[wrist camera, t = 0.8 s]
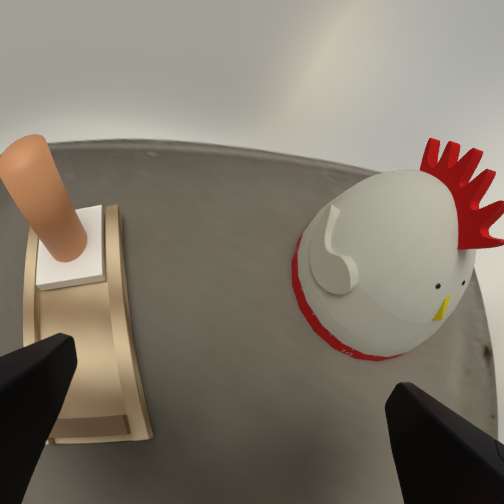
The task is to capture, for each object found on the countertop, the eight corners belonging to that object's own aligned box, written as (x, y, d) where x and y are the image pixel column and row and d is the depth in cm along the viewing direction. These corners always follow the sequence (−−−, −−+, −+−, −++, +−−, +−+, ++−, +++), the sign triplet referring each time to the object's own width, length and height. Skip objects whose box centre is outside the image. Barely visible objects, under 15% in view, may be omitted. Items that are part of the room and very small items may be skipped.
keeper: (105, 280, 20) (55, 185, 11) (41, 290, 18) (-31, 209, 10) (104, 212, 22) (72, 110, 14) (46, 223, 21) (-2, 132, 12)
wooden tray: (153, 436, 16) (146, 440, 14) (49, 442, 14) (29, 444, 12) (122, 219, 24) (115, 196, 21) (39, 234, 22) (25, 214, 19)
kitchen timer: (306, 373, 20) (463, 295, 7) (278, 212, 27) (337, 57, 14) (443, 344, 23) (576, 269, 10) (403, 217, 29) (486, 112, 17)
